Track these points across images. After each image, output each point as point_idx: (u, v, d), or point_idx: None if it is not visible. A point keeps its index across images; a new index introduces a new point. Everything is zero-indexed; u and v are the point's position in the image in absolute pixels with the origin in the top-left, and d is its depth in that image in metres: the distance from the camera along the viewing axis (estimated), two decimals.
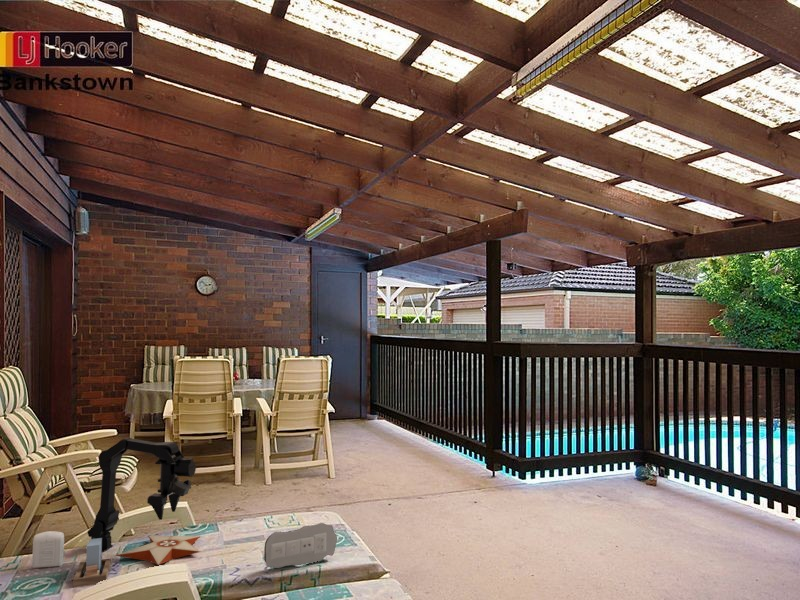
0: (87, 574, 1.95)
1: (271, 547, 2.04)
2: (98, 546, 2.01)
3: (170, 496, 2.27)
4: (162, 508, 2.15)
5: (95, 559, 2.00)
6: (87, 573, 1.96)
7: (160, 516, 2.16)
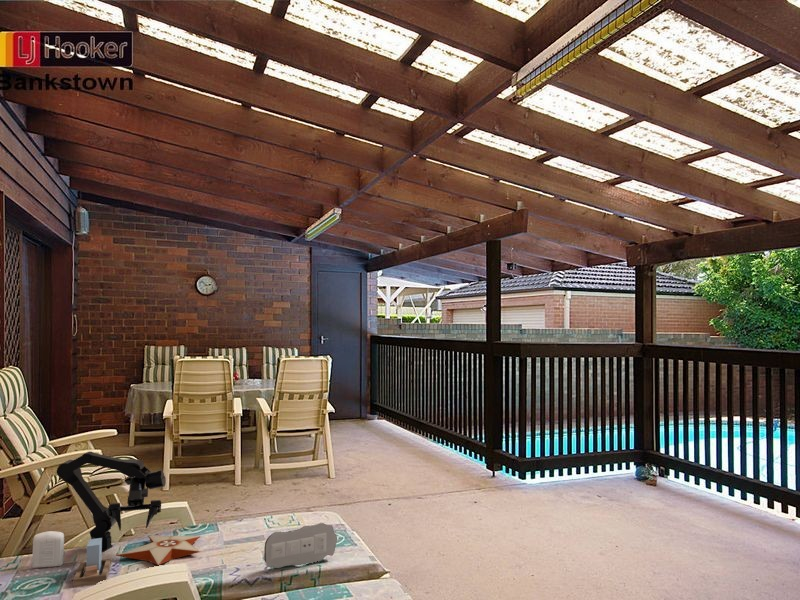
0: (87, 574, 1.95)
1: (271, 547, 2.04)
2: (98, 546, 2.01)
3: None
4: (118, 517, 2.15)
5: (95, 559, 2.00)
6: (87, 573, 1.95)
7: (118, 526, 2.14)
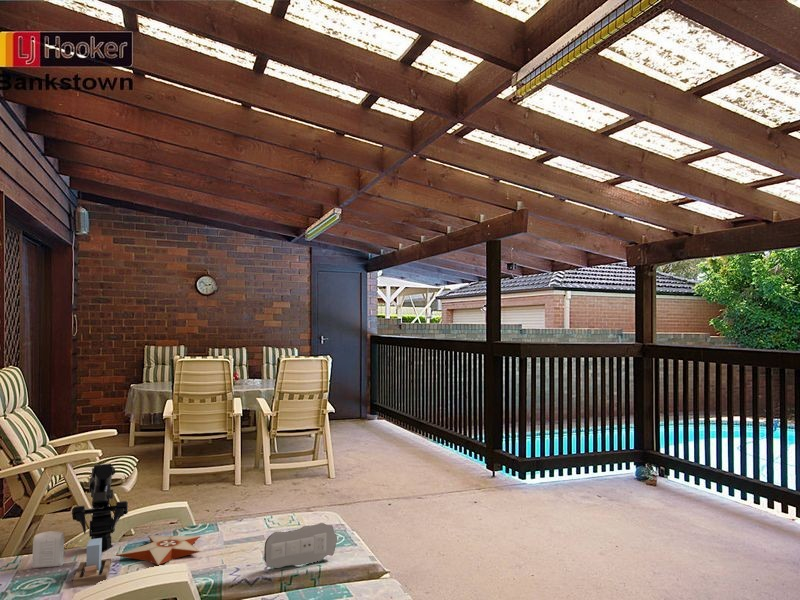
0: (86, 574, 1.95)
1: (271, 547, 2.04)
2: (98, 546, 2.01)
3: None
4: (82, 520, 2.10)
5: (95, 559, 2.00)
6: (86, 573, 1.95)
7: (83, 529, 2.08)
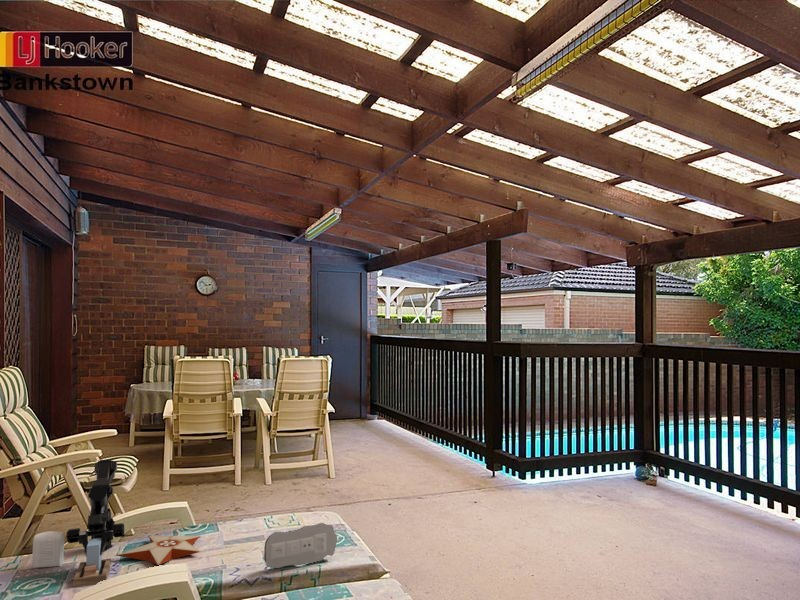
0: (86, 574, 1.95)
1: (271, 547, 2.04)
2: (98, 546, 2.01)
3: None
4: (84, 542, 2.03)
5: (95, 559, 2.00)
6: (86, 573, 1.95)
7: (85, 552, 2.02)
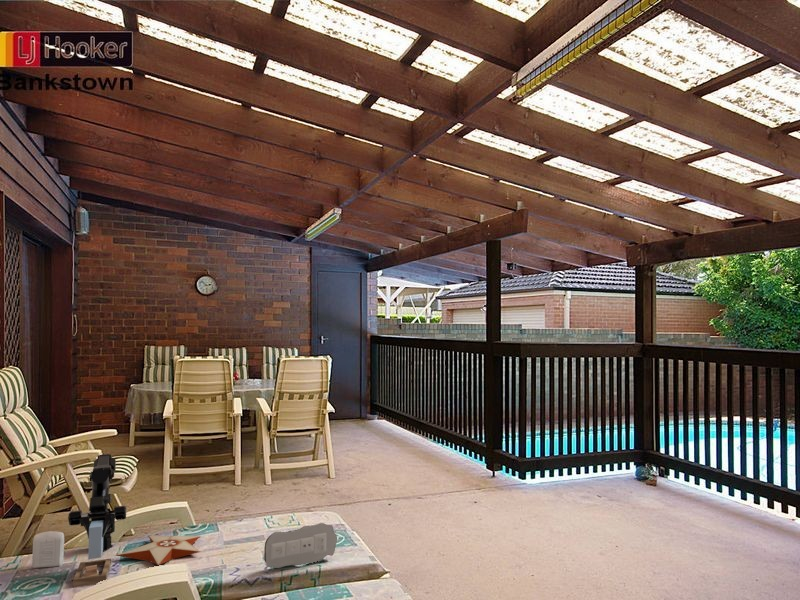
0: (87, 574, 1.95)
1: (271, 547, 2.04)
2: (100, 528, 2.01)
3: None
4: (86, 524, 2.03)
5: (97, 541, 2.01)
6: (87, 573, 1.95)
7: (87, 534, 2.02)
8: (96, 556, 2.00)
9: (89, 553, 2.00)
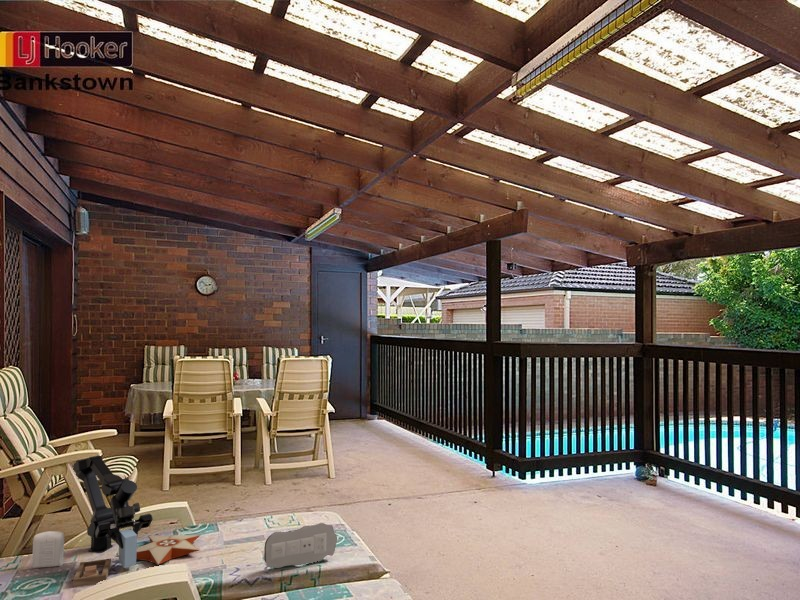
0: (86, 574, 1.95)
1: (271, 547, 2.04)
2: (136, 536, 2.06)
3: None
4: (117, 535, 2.06)
5: (133, 549, 2.05)
6: (86, 573, 1.95)
7: (120, 544, 2.05)
8: (132, 564, 2.05)
9: (125, 562, 2.04)
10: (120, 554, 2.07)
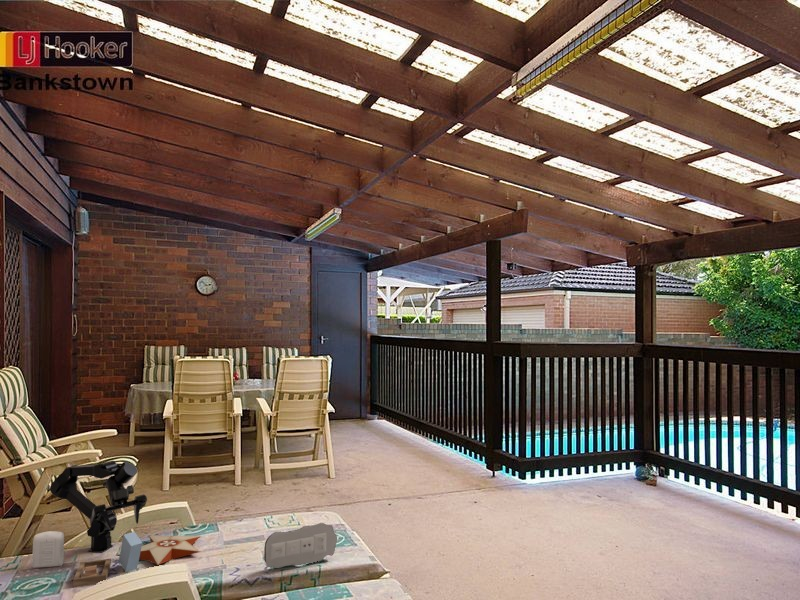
0: (86, 574, 1.95)
1: (271, 547, 2.04)
2: (141, 544, 2.04)
3: (134, 511, 2.21)
4: (106, 518, 2.12)
5: (136, 555, 2.05)
6: (86, 573, 1.95)
7: (109, 527, 2.11)
8: (133, 568, 2.05)
9: (127, 567, 2.04)
10: (121, 556, 2.06)
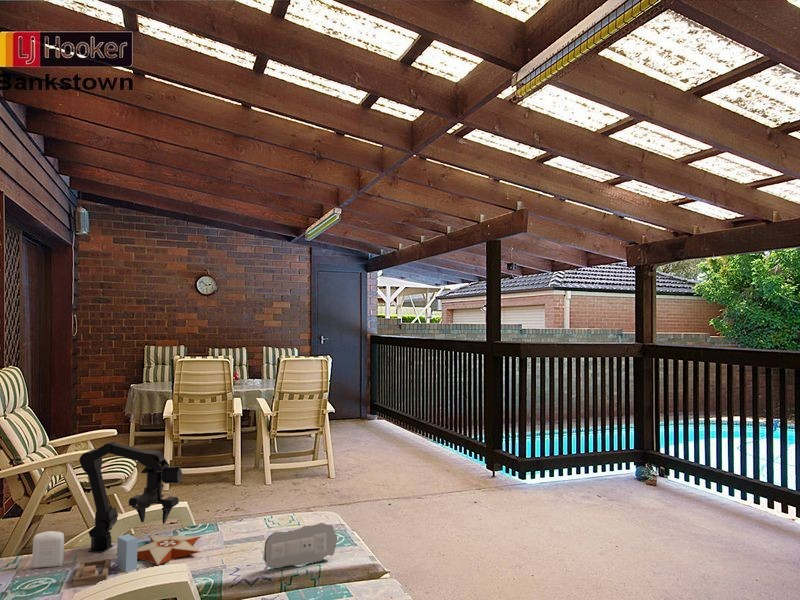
0: (85, 575, 1.95)
1: (271, 547, 2.04)
2: (136, 540, 2.07)
3: None
4: (138, 511, 2.26)
5: (134, 553, 2.06)
6: (85, 574, 1.95)
7: None
8: (133, 568, 2.06)
9: (127, 566, 2.04)
10: (119, 560, 2.07)
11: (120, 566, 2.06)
